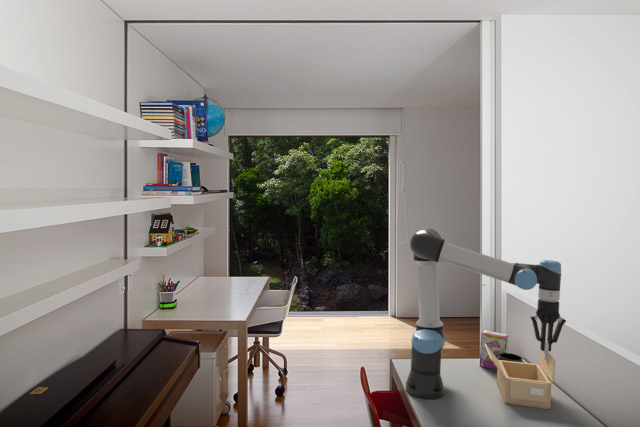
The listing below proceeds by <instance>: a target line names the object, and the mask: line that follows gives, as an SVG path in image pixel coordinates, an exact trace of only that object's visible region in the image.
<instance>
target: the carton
mask: <svg viewBox="0 0 640 427" xmlns="http://www.w3.org/2000/svg"><path fill="white" fill-rule="evenodd" d="M498 362H499V364H500V366H501V368H502V371H503V373H504V375H505V376H503V375H502V374H501V372H500V371H499V370H498V368H497V370H496V371H497V372H496V385H497V388H498V390H499V394H500V395H501V398H502V400H503V402H504V405H511V406H512V405H513V406H519V407H527V408H535V409H541V410H542V409H543V410H551V399H552V398H551V397H552V381H551V379H550V378H549V377H548V375H547V374H546V372H545V371H544V369H543V368H542V366H541V365H540V363H531V362H530V363H528V362H524V363H522V362H513V361H504V360H498Z"/></svg>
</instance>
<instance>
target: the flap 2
mask: <svg viewBox="0 0 640 427" xmlns="http://www.w3.org/2000/svg"><path fill="white" fill-rule="evenodd" d="M539 356H540V357H539V366H540V367H541V369H542V370H543V372H544V373H545V375H546V376H547V377H548V379H549V380H550V382H551V383H552V382H553V383H554V380H555V371H556V370H555V369H556V360H555V358H554V357H553V355H551V354H550V351H548V360H544V359H543V351H542V350H541V349H540V354H539Z"/></svg>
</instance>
